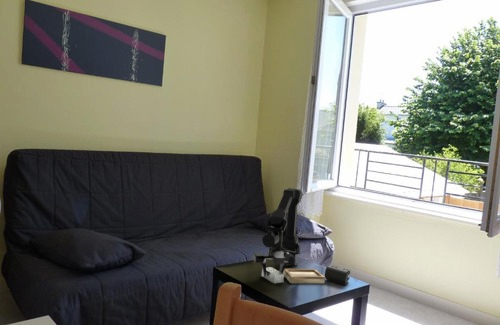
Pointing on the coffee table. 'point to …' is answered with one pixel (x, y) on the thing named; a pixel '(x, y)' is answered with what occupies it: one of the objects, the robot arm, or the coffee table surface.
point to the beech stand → (303, 276)
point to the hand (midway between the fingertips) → (272, 276)
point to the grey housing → (273, 275)
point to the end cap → (337, 275)
